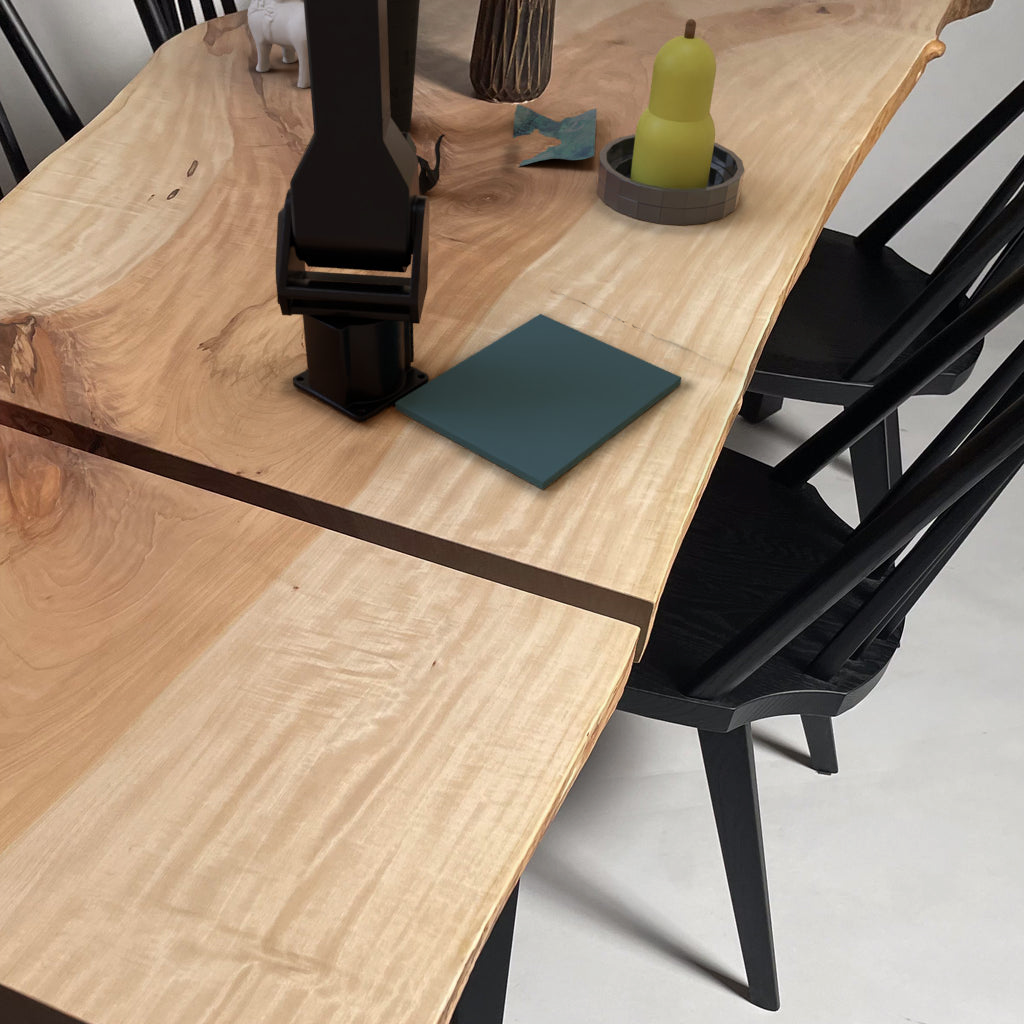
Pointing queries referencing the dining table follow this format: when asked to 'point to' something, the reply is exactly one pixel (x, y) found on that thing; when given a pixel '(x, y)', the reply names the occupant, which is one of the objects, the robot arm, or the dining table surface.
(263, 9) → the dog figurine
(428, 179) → the creature
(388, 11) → the drinking cup
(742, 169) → the bowl
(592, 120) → the teal flat jagged piece
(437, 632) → the dining table surface
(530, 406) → the mat
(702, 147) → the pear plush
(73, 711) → the dining table surface
